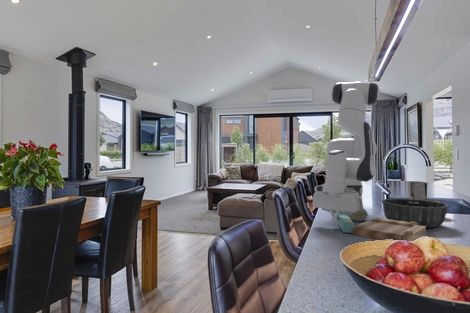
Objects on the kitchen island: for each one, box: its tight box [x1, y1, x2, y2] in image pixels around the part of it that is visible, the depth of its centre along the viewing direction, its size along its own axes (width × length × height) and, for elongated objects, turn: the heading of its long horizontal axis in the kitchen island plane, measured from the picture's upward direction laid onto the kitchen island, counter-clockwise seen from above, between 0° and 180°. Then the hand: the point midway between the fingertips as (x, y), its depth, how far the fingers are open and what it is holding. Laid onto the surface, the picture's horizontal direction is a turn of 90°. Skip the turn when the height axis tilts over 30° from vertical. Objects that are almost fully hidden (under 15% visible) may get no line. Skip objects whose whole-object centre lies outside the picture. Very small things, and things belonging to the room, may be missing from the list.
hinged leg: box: [336, 213, 355, 234], centre depth 145 cm, size 18×4×5 cm, turn 171°
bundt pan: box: [381, 198, 449, 229], centre depth 154 cm, size 26×26×10 cm
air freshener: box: [342, 198, 368, 222], centre depth 163 cm, size 11×8×10 cm
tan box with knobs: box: [351, 217, 427, 241], centre depth 135 cm, size 22×20×4 cm
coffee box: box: [408, 181, 428, 200], centre depth 183 cm, size 9×6×16 cm
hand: (335, 220), depth 148 cm, fingers closed
